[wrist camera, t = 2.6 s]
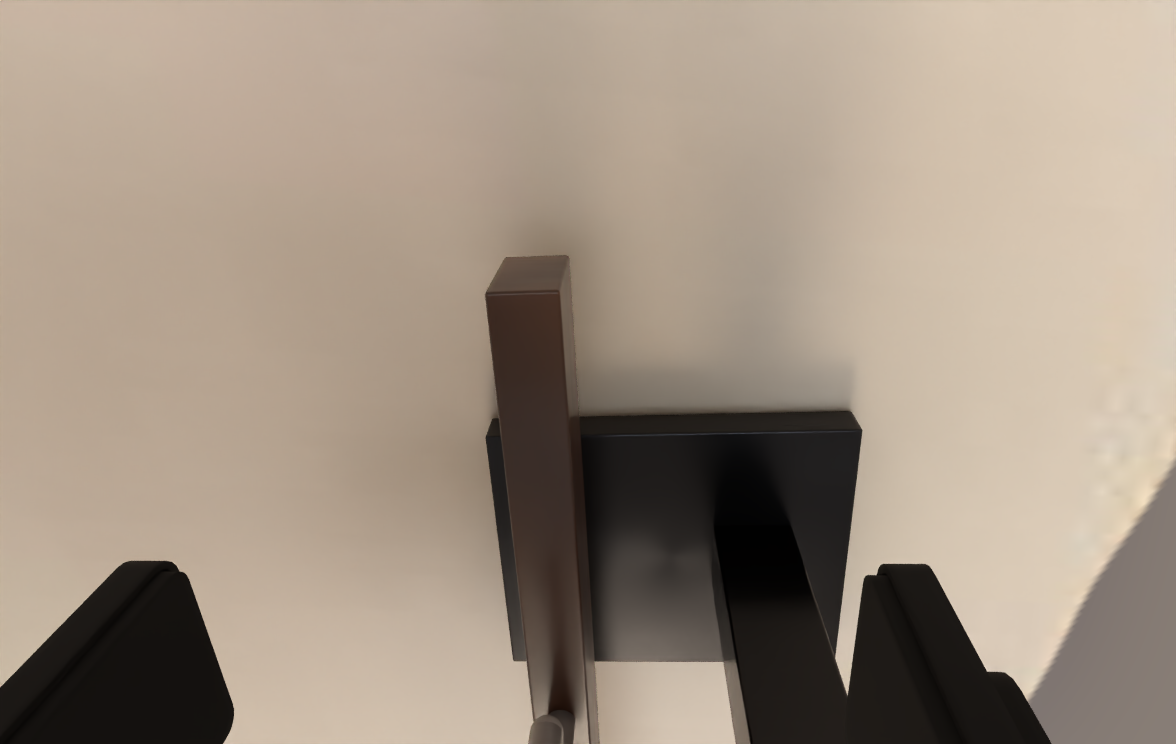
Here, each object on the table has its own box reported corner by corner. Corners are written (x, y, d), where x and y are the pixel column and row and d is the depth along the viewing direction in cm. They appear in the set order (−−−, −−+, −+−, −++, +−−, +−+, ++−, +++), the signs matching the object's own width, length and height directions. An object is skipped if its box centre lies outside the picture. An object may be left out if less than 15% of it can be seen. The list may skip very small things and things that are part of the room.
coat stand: (412, 636, 27) (172, 1303, 13) (369, 420, 23) (-37, 1024, 9) (826, 636, 26) (1063, 1360, 12) (852, 410, 22) (1243, 1071, 8)
